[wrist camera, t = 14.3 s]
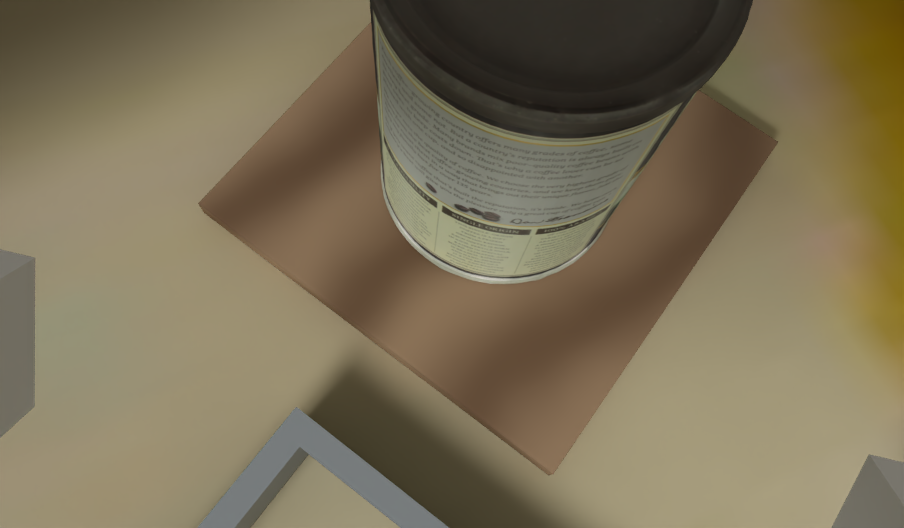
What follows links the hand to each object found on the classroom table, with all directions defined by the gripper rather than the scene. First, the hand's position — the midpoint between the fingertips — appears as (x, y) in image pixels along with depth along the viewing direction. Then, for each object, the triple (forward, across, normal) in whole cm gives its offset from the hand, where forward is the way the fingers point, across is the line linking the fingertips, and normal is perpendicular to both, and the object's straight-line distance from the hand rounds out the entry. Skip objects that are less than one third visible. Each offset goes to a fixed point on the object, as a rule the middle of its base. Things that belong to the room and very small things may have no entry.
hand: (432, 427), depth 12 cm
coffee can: (+22, +1, -2) cm, 22 cm away
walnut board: (+23, +1, -2) cm, 23 cm away
